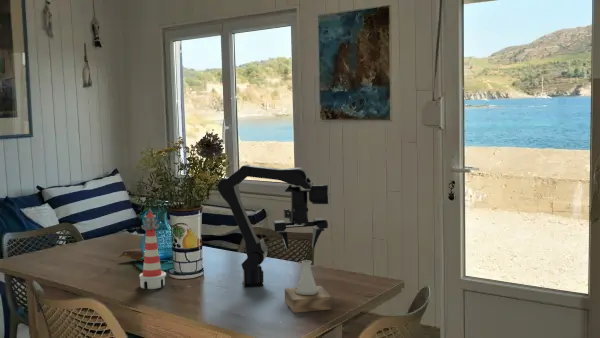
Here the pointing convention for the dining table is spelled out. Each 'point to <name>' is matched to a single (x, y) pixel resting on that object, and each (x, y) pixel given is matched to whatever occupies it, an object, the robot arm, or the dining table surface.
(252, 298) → the dining table surface
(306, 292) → the flask
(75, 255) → the dining table surface
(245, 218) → the robot arm
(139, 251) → the bird sculpture
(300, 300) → the light brown square board
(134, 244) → the dining table surface
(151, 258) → the miniature lighthouse
